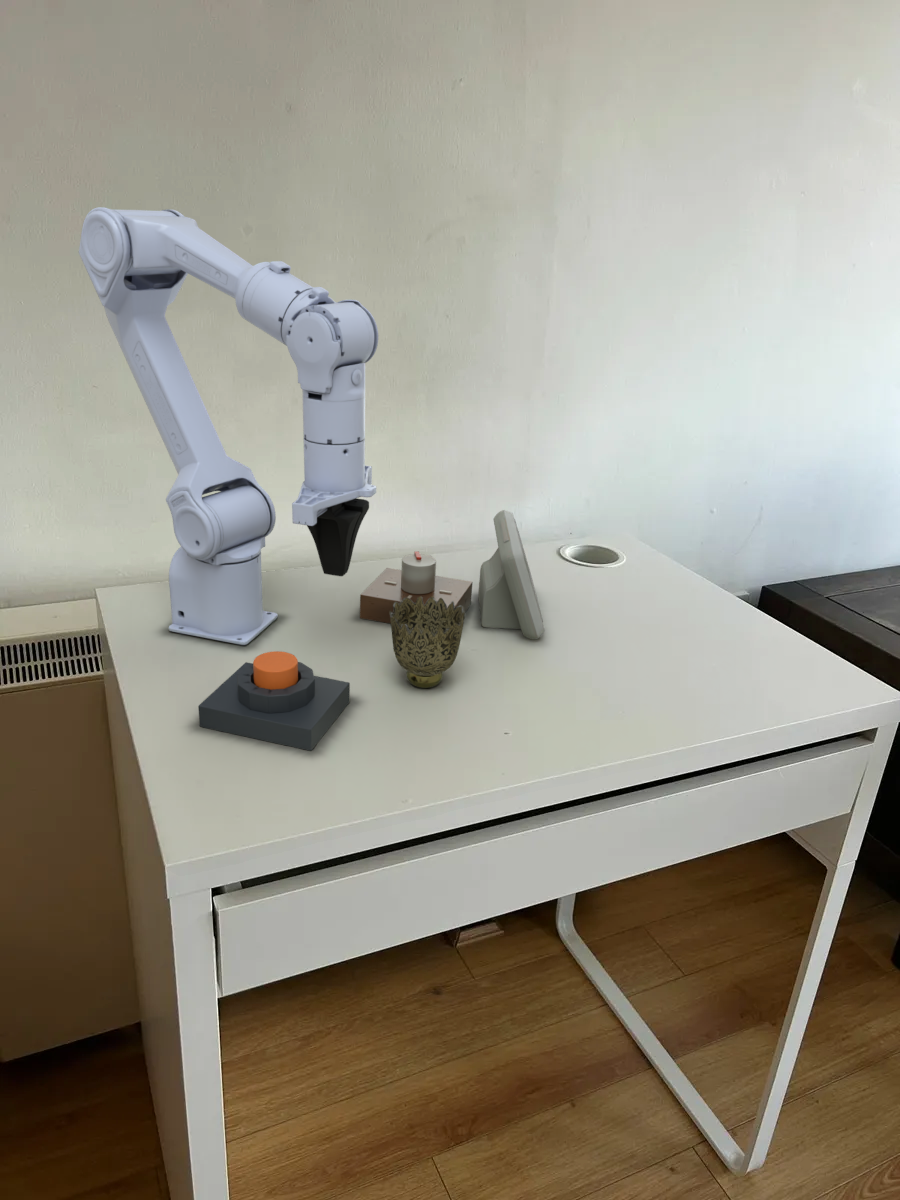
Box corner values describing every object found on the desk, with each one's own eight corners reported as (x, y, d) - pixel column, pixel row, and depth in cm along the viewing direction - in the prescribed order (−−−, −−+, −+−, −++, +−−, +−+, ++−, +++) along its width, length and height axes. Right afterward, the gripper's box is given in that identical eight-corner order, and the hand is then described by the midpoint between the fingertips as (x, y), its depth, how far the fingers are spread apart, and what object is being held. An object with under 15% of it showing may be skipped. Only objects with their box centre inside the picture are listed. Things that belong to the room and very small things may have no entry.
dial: (437, 594, 104) (439, 563, 103) (403, 594, 104) (404, 564, 102) (431, 580, 108) (433, 550, 106) (398, 581, 107) (399, 551, 106)
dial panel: (359, 618, 104) (360, 593, 103) (386, 589, 112) (386, 566, 111) (450, 634, 102) (452, 609, 100) (471, 604, 110) (472, 580, 108)
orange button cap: (246, 686, 82) (245, 666, 81) (266, 667, 85) (265, 647, 84) (286, 695, 81) (286, 674, 80) (305, 674, 84) (305, 655, 83)
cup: (452, 705, 88) (457, 631, 84) (379, 694, 89) (381, 620, 85) (466, 670, 94) (471, 600, 91) (398, 660, 95) (400, 591, 92)
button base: (199, 726, 82) (196, 688, 80) (246, 681, 90) (245, 645, 88) (311, 751, 79) (310, 711, 77) (349, 702, 87) (350, 665, 85)
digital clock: (541, 647, 100) (551, 558, 96) (462, 636, 101) (468, 548, 97) (553, 591, 115) (562, 512, 110) (484, 582, 116) (490, 503, 112)
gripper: (343, 460, 77) (344, 606, 82) (400, 426, 89) (398, 554, 95) (268, 451, 78) (274, 594, 84) (335, 419, 91) (336, 545, 97)
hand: (335, 572), depth 89 cm, fingers closed
